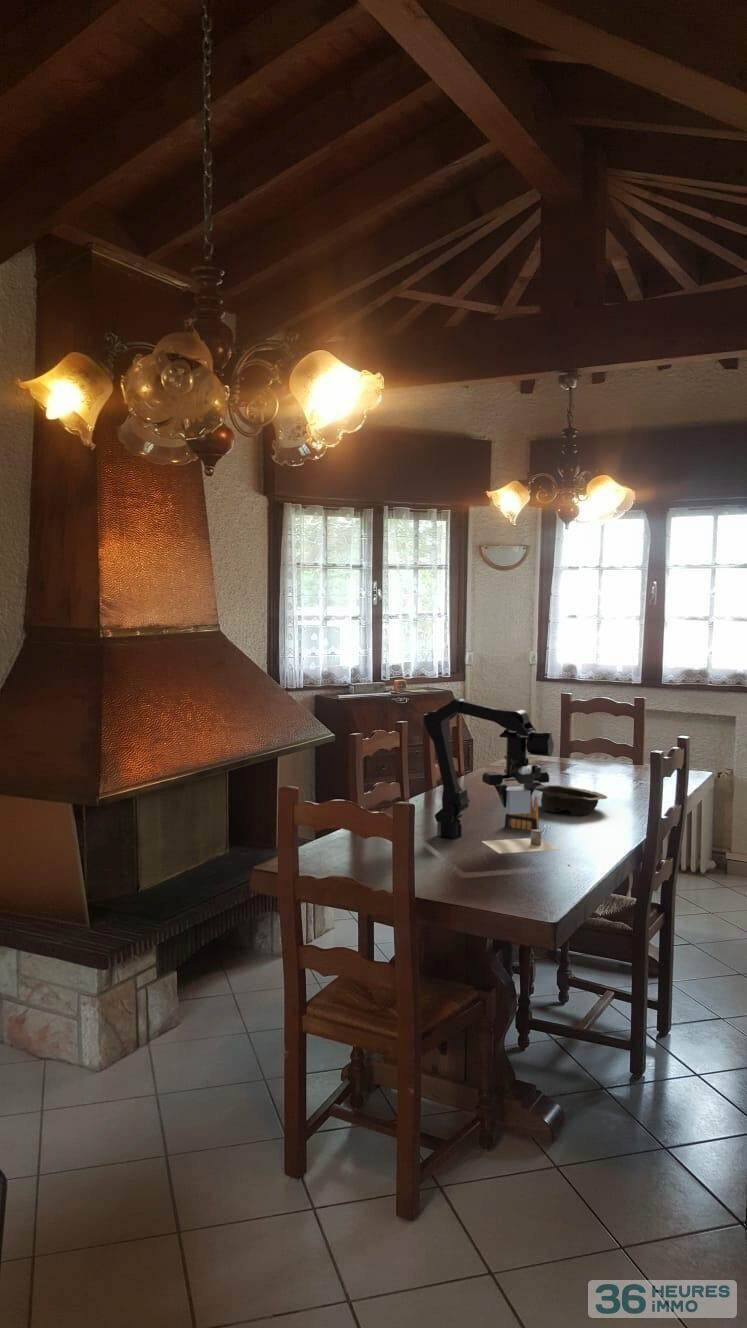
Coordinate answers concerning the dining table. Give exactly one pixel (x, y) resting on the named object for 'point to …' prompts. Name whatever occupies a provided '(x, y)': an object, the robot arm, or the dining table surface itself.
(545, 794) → the stone bowl
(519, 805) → the pale grey cube
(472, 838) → the dining table surface
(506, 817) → the ammunition clip
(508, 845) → the stub board
